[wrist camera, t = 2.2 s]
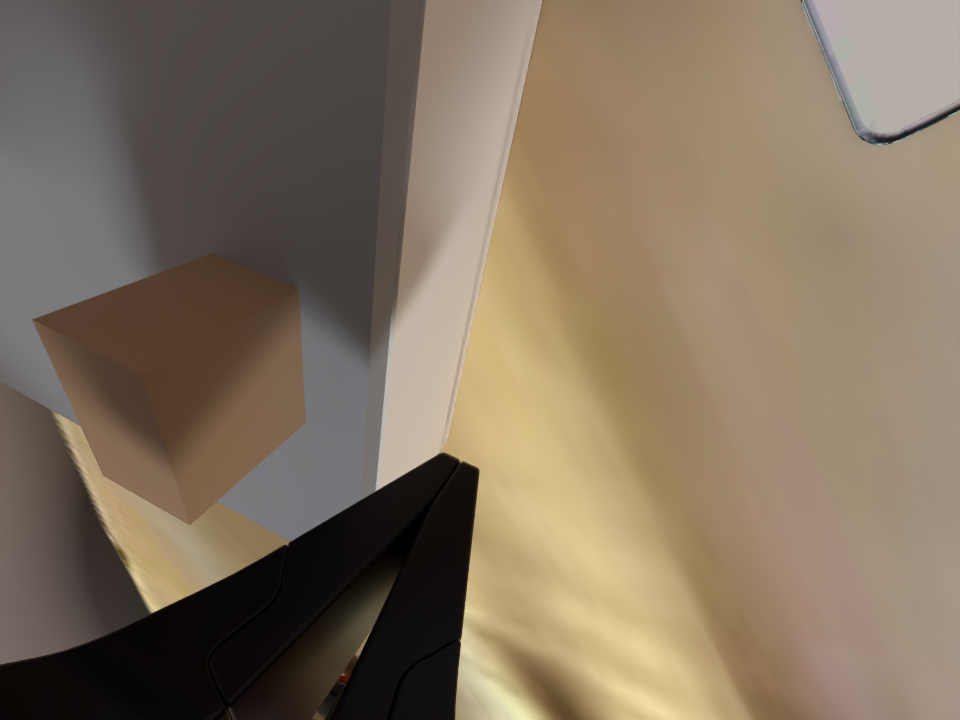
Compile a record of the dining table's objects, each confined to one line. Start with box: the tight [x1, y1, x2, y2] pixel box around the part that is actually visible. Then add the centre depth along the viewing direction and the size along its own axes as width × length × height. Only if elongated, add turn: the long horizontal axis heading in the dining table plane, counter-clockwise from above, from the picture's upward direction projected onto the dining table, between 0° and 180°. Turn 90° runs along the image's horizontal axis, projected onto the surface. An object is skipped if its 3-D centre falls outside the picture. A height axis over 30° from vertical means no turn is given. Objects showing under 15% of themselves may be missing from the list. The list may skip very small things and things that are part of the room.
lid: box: [0, 0, 420, 541], centre depth 11 cm, size 17×18×4 cm
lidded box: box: [376, 0, 542, 491], centre depth 16 cm, size 16×18×6 cm
